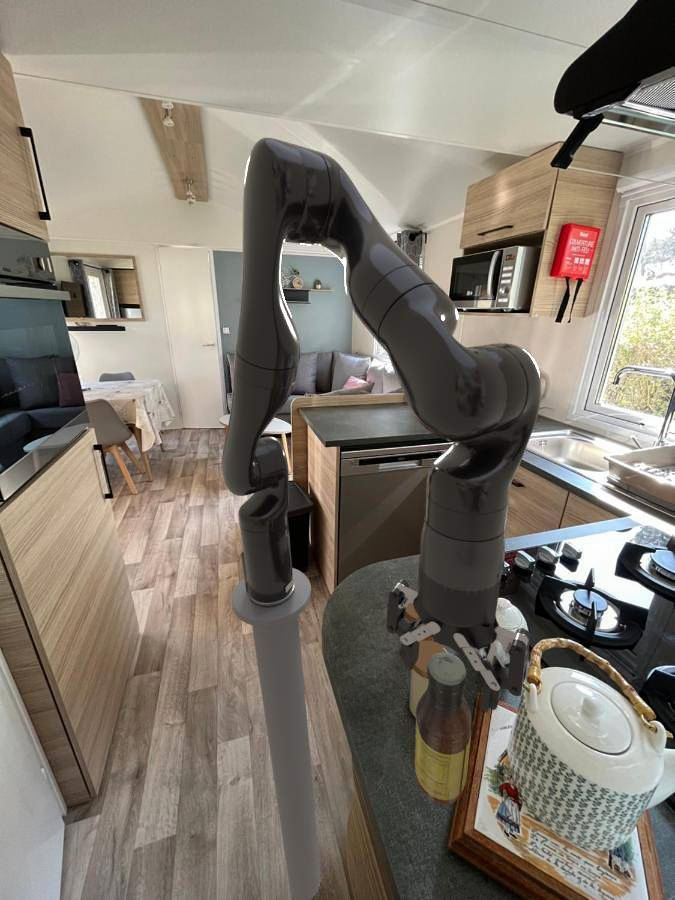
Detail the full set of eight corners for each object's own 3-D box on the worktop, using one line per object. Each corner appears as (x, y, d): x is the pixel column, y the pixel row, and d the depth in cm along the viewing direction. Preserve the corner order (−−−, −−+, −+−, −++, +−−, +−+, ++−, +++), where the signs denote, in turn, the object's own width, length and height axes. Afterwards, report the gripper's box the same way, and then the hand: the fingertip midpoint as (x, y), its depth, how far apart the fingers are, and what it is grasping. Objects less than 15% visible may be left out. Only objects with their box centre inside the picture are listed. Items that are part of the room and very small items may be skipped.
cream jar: (401, 711, 56) (403, 660, 53) (417, 683, 60) (420, 634, 57) (436, 733, 53) (441, 680, 50) (450, 702, 57) (455, 651, 54)
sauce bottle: (437, 742, 52) (448, 631, 45) (475, 786, 47) (493, 670, 40) (402, 772, 49) (407, 658, 42) (438, 824, 44) (451, 704, 37)
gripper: (375, 556, 37) (374, 675, 43) (534, 618, 30) (507, 754, 35) (408, 522, 43) (404, 631, 49) (549, 566, 35) (524, 690, 41)
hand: (447, 683), depth 42 cm, fingers open, 8 cm apart
